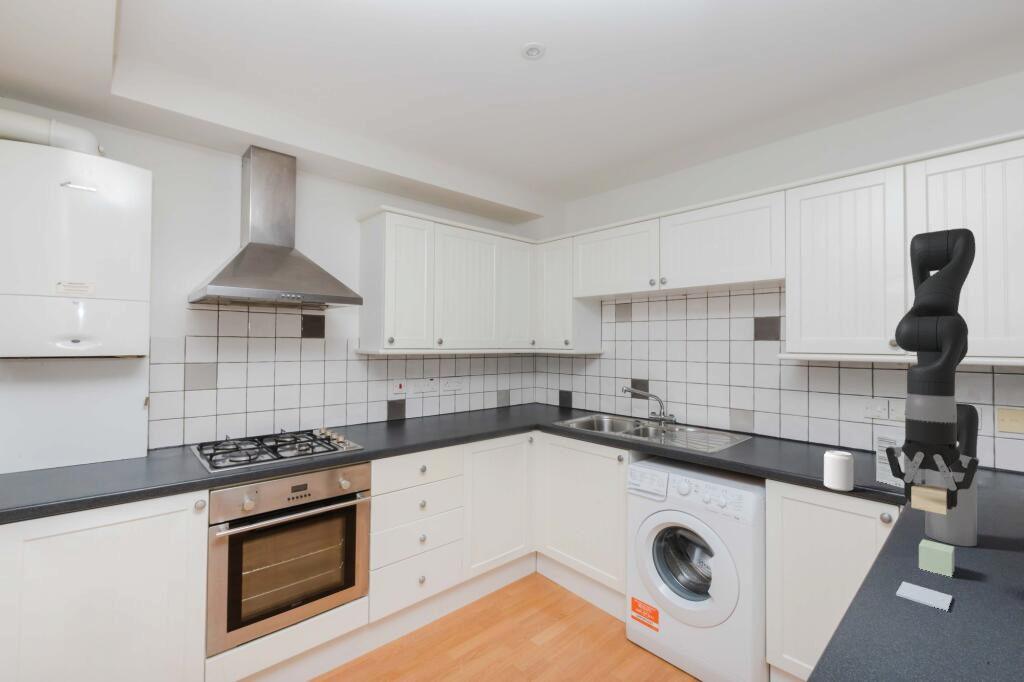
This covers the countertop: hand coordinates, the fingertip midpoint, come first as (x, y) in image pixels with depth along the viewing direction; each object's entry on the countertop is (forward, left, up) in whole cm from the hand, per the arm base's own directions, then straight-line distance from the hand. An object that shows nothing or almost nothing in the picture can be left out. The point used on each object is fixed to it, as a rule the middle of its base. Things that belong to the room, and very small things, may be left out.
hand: (930, 504), depth 91 cm
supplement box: (-89, -18, -16) cm, 93 cm away
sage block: (-9, 0, -15) cm, 18 cm away
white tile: (+8, 0, -15) cm, 17 cm away
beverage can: (-64, -30, -16) cm, 73 cm away
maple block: (0, 0, -1) cm, 1 cm away
